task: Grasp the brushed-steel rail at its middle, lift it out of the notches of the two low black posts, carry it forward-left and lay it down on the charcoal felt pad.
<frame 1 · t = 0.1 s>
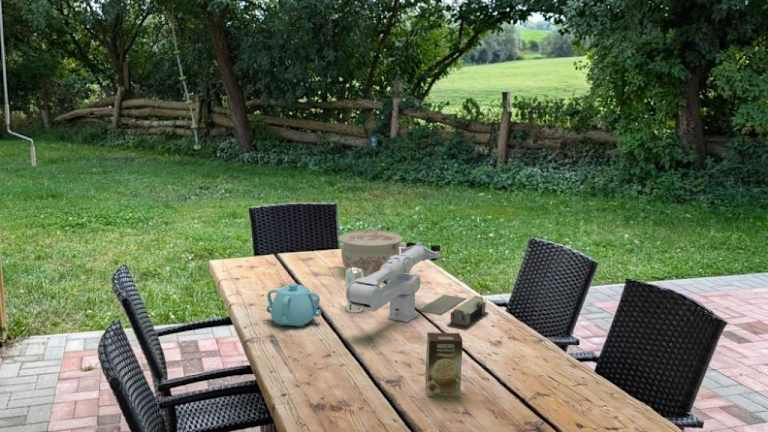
hand: (429, 246, 281), 22 cm above the table, tool horizontal, fingers open, 7 cm apart
rail: (468, 311, 265), point 3 cm above the table, touching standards
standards: (468, 320, 266), on the table
beer glass: (354, 310, 276), on the table
chamber pot: (370, 276, 320), on the table
decorative pot: (293, 322, 262), on the table
coffee box: (442, 393, 207), on the table
pad: (442, 304, 282), on the table
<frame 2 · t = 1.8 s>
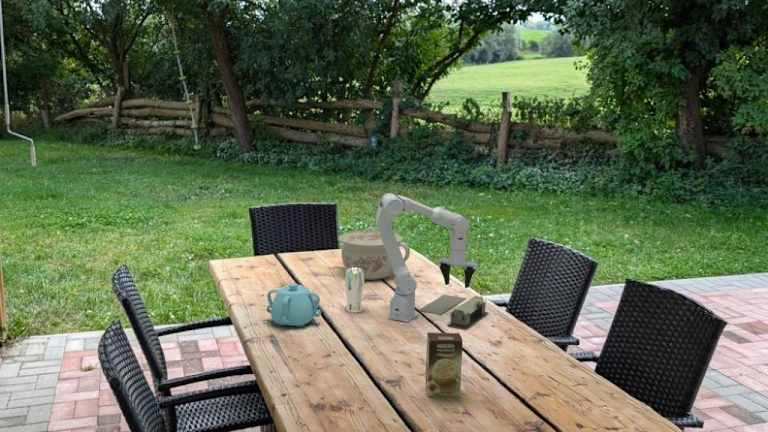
hand: (457, 285, 271), 10 cm above the table, tool pointing down, fingers open, 7 cm apart
nothing on the table moved.
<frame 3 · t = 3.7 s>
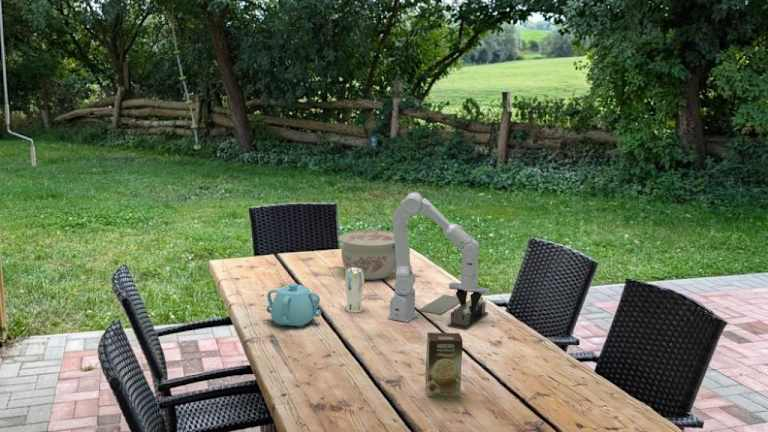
hand: (468, 311, 265), 3 cm above the table, tool pointing down, fingers closed on rail, 3 cm apart
rail: (468, 311, 265), point 3 cm above the table, touching gripper, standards
everything else where it was.
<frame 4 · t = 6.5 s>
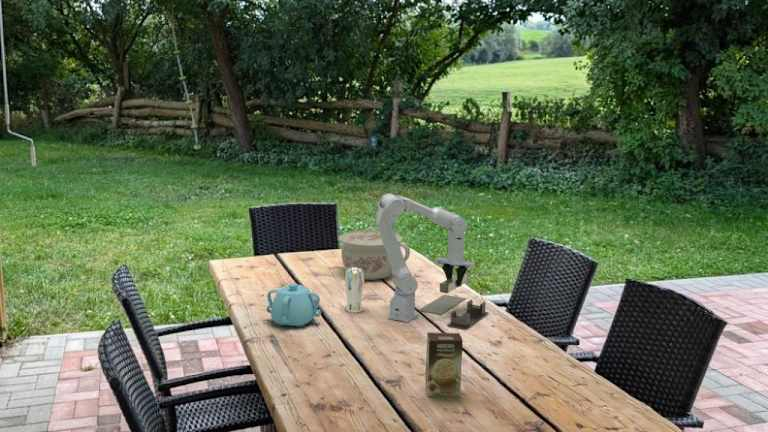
hand: (454, 285, 273), 10 cm above the table, tool pointing down, fingers closed on rail, 3 cm apart
rail: (454, 286, 273), point 10 cm above the table, touching gripper
everything else where it was.
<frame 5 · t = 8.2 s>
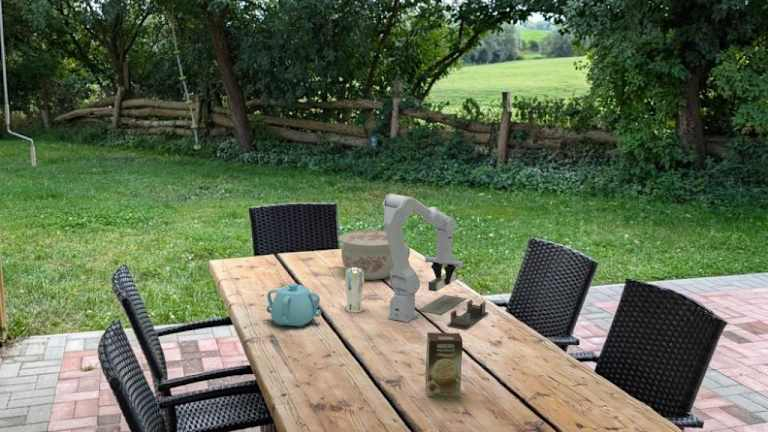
hand: (443, 283, 281), 8 cm above the table, tool pointing down, fingers closed on rail, 3 cm apart
rail: (443, 284, 281), point 8 cm above the table, touching gripper
everything else where it was.
when the fingers open (2 cm above the table, at t = 9.6 s): rail stays where it is, resting on pad.
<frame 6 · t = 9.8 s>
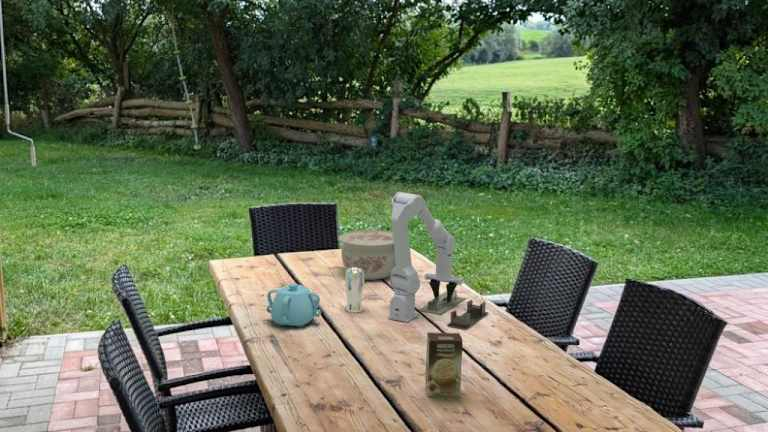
hand: (442, 300, 282), 2 cm above the table, tool pointing down, fingers open, 4 cm apart
rail: (442, 303, 282), resting on pad
everything else where it was.
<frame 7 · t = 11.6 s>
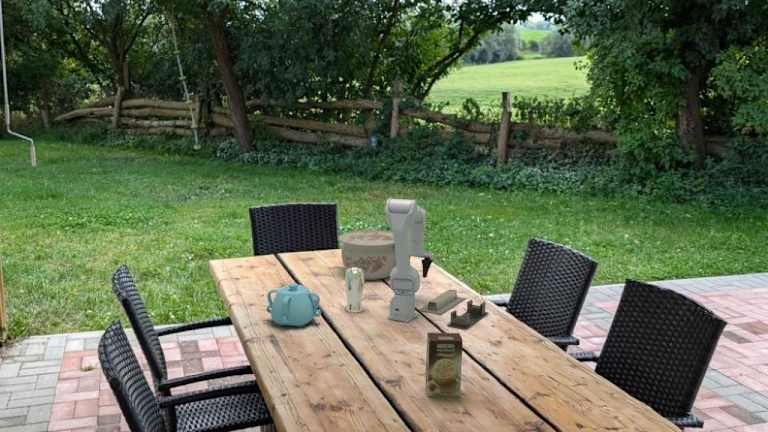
hand: (415, 275, 283), 10 cm above the table, tool pointing down, fingers open, 7 cm apart
nothing on the table moved.
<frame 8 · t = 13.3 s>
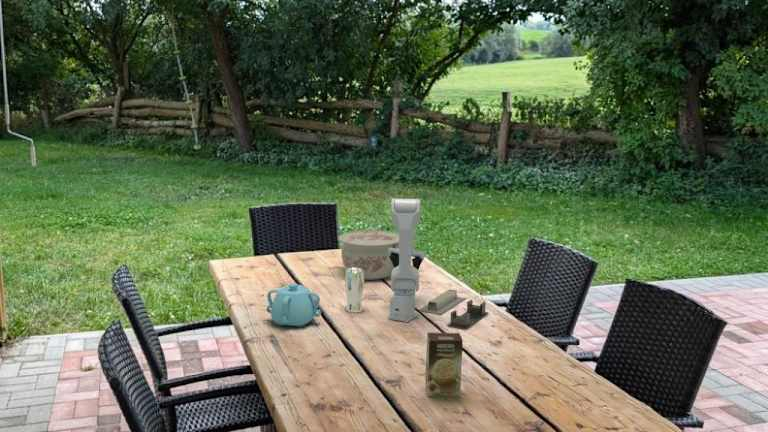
hand: (406, 274, 284), 10 cm above the table, tool pointing down, fingers open, 7 cm apart
nothing on the table moved.
at the end: rail inside the target area on the pad (0.2 cm from its centre), point 0.4 cm above the pad's base; rail touching pad; the gripper is holding nothing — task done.
